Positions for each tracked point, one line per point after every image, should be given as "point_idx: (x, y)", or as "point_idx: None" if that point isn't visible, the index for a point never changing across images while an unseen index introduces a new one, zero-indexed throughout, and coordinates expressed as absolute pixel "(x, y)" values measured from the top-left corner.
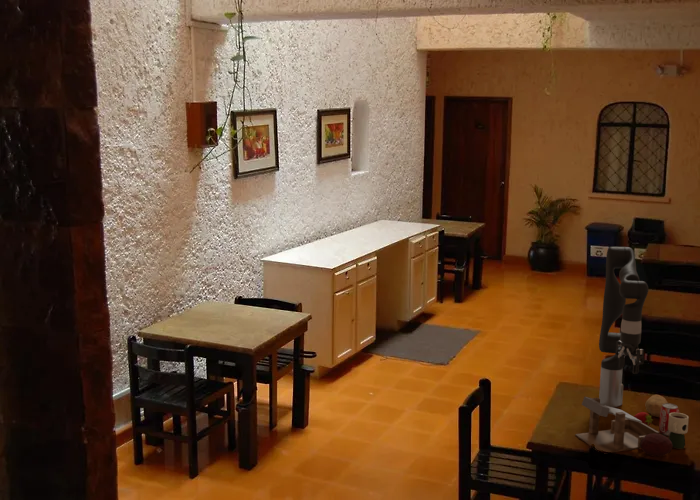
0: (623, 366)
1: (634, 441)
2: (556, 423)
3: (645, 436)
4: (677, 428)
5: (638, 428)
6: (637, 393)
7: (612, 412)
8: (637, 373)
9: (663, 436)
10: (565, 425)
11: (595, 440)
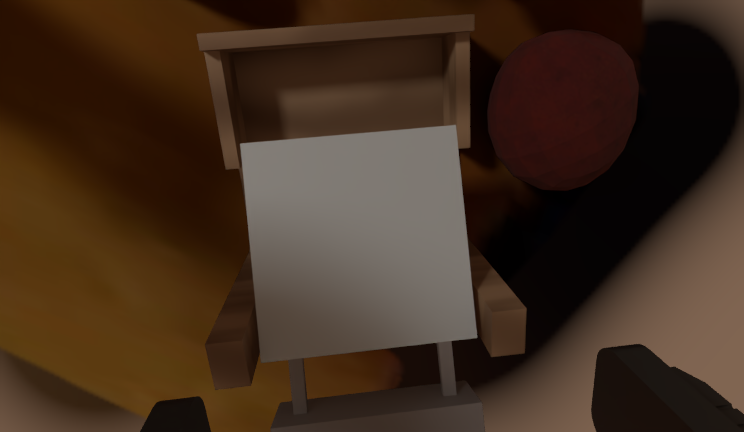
0: (201, 414)
1: (395, 125)
2: (122, 353)
3: (540, 163)
4: None
5: (310, 45)
6: None
7: (441, 342)
8: (633, 352)
9: (606, 84)
10: (149, 326)
11: None
